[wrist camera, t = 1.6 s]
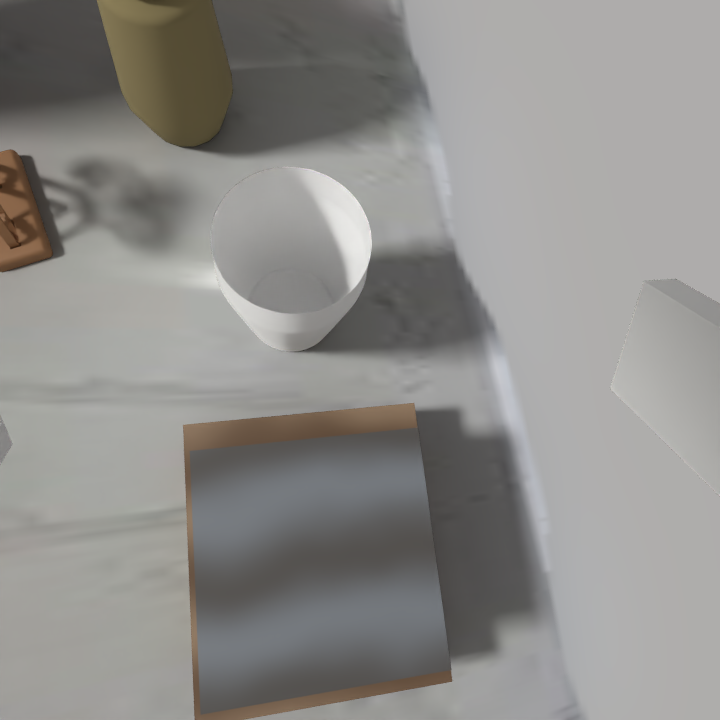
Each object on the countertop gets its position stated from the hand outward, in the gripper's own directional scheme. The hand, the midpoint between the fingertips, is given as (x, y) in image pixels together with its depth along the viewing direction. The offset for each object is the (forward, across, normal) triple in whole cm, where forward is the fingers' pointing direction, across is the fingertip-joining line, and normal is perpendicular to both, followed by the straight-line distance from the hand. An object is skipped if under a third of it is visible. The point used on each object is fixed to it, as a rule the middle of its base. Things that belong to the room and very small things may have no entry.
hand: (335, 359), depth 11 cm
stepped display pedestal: (+16, 0, -24) cm, 29 cm away
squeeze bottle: (+40, -7, 0) cm, 40 cm away
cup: (+28, 0, -12) cm, 30 cm away
